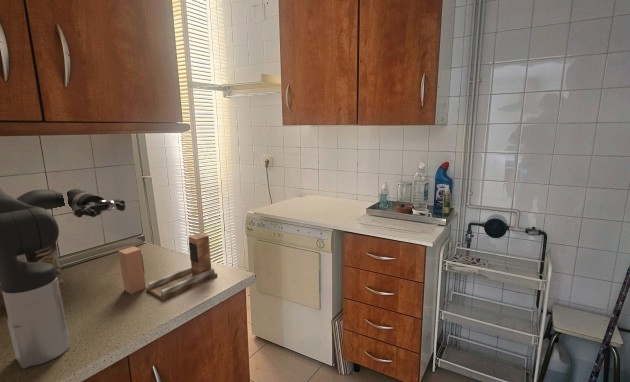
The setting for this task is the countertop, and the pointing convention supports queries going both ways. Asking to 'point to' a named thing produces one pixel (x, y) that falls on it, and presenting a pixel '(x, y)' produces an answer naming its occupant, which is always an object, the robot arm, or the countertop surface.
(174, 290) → the rail base
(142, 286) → the block
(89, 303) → the countertop surface
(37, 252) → the coffee box
